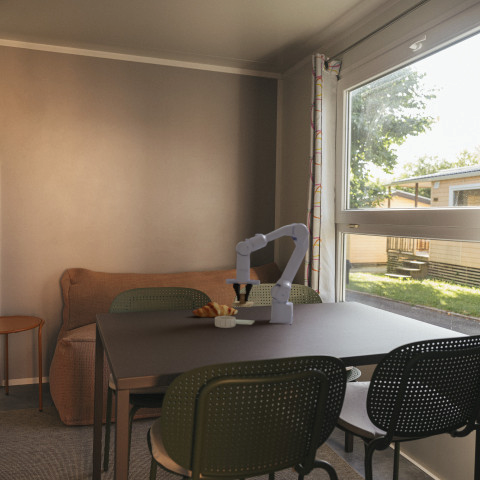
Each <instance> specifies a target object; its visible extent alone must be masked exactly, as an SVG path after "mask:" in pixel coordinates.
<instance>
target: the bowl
mask: <svg viewBox="0 0 480 480" xmlns="http://www.w3.org/2000/svg"><path fill="white" fill-rule="evenodd" d="M236 320H237V319H236V316H234V315H229V316H217V317H214V326H215V327H218V328H220V329H221V328H223V329H224V328H225V329H227V328H234V327H236V325H237V324H236Z"/></svg>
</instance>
